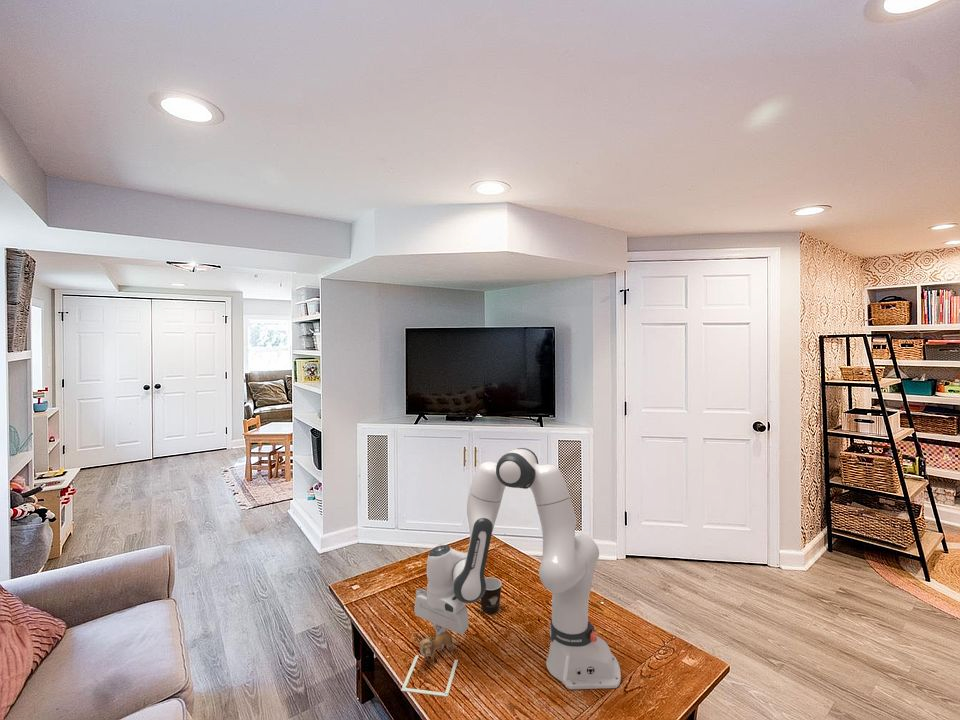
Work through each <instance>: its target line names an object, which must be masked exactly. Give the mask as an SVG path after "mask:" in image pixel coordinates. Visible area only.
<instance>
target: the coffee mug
mask: <svg viewBox="0 0 960 720" xmlns="http://www.w3.org/2000/svg"><path fill="white" fill-rule="evenodd" d="M485 582H486V591H485V594H484V595H483V597H482V598H481V599H480V600H478V601H476V602H475V603H477V604H479V605H480V606H481V611H482V612H483V613H484V614H486V615H494V614H497V613H498V612H499V609H500V604H501V603H500V602H501V601H500V600H501V594H502V593H501V592H502V581H501V580H500V579H499V578H496V577H493V576H492V577H491V576H490V577H489V576H488V577H485Z"/></svg>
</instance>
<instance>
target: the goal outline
mask: <svg viewBox="0 0 960 720" xmlns="http://www.w3.org/2000/svg"><path fill="white" fill-rule="evenodd" d="M419 656H420V655H418V654H415V655H414V658H413V661H412V663H411V666H410V668H409V670H408V673H407V675H406V677H405V679H404V682H403V684H402V687H401V689H400V691H401V692H407V693H414V694H423V695H431V696H437V697H449V693H450V690H451V686H452V683H453V679H454V676H455V673H456V672H455V671H456V669H457V665H458V662H459V659H454V662H453V665H452V669H451V672H450V675H449V679H448V682H447V686H446V689H445V691H444V692H442V691H433V690H426V689H425V690H424V689H417V688H409V687H407V686H408V684H409V681H410V678H411V676H412V673H413V671H414V669H415V666H416V664H417V662H418V659H419Z"/></svg>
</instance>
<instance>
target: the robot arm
mask: <svg viewBox="0 0 960 720" xmlns="http://www.w3.org/2000/svg"><path fill="white" fill-rule="evenodd" d="M565 480H566V479H565V478H564V476H563V474H562V472H561V470H560V469H559V467H558V466H557V465H555V464H549V463H546V464H539V459H538V456H537V454H535V452H533V451H532V450H531V449H528V448H526V447H524V448H523V447H519V448H516V449H511V450H510V451H508V452H507V453H504V454H503V455H502V456H501V457H500V458H499V459H498V461H497V462H493V461H485V462H482V463H481V464H479V466H478V468H477V469H476V472H475V474H474V476H473V479H472V480H471V481H472V482H471V485H470V488H469V492H468V496H467V503H466V515H467V520H468V526H469V527H468V528H469V543H468V549H467V551H459V550H456V549H454V548H452V547H451V546H450V545H447V544H441V545H436V546H435V547H434V548H432V549H431V550H430V551H429V553H428V556H427V559H426V578H427V585H426V589H424V588H422V587H419V588H417V589H416V590H415V600H414V614H415V616H416V617H418V618H421V619H422V620H426V621H428V622H430V623H432V627H433V628H434V631H435V637H436V636H438V635H439V634H441V633H442V632H447V630H448V631H451V632H454V633H456V634H458V635H463V634H464V633H465V632H466V631H467V630H468V628H469V611H468V609H467V607H466V605H467V604H473V603H476V601H481V598H482V597H483V595H484V594H485V591H486V582H485V578H486V577H485V569H486V563H487V560H488V554H489V549H490V545H491V539H492V535H493V531H494V529H495V523H496V521H497V518H498V515H499V511H500V507H501V504H502V500H503V495H504V492H505V490H506V487H509V488H514V489H515V488H516V489H523V490H524V489H525V490H527V489H530V490H531V492H532V494H533V495H532V496H533V498H534V502H535V505H536V509H537V513H538V517H539V521H540V525H541V526H540V527H541V532H542V556H541V562H540V564H539V568H538V575H539V576H538V577H539V579H540V582H541V584H542V585H543V587H544V588H545V589H546V590H548V592H550V593H551V594H552V596H551V618H550V623H549V639H550V644H549V650H548V655H547V658H546V663H545V664H546V668H547V670H548V672H549V674H551V676H553V677H554V678H555V679H556V680H558V681H560V683H562V684H563V685H564V686H565V687H566V689H568V690H591V689H593V690H594V689H596V690H597V689H617V688H618V687H619V686H620V684H621V682H622V681H621V680H622V676H621V675H622V674H621V667H620V664H619V661H618V660H617V658H616V656H615V655H614V654H613V653H612V652H611V649H610V647H609V645H608V643H607V642H606V640H604V639H603V638H601V637H600V636H598V635H597V633H596V632H595V626H594V623H593V621H592V620H590V622H589V600H590V594H591V589H592V584H593V578H594V574H595V570H596V569H595V568H596V566H597V563H598V559H599V558H600V550H599V546H598V545H597V543H596V542H595V540H593V538H591V537H589V536H587V535H584V534H581V535H576V536H575V534H576V528H577V523H578V521H577V516H576V512H575V508H574V505H573V503H572V498H571V496H570V492H569V489H568V486H567V483H566V481H565Z"/></svg>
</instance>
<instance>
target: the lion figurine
mask: <svg viewBox="0 0 960 720" xmlns="http://www.w3.org/2000/svg"><path fill="white" fill-rule="evenodd" d="M444 646H447V647H448V648H449V647H450V649H449V651H450V652H451V653H452V652H454V650H455V649H454V642H453V637H452V635H451V633H450V632H449V631H446V632H442V633H441V634H439V635H438V636H436V635H435V636H434V637H432V636H428V637H424V638H422V639H421V641H420V642H419V651H420V655H422V656H424V657H423V660H424V661H427V660H428V659H429V656H430V661H429V664H430V665H434V663H435V653H436V650H438V651H443V648H444Z"/></svg>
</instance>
